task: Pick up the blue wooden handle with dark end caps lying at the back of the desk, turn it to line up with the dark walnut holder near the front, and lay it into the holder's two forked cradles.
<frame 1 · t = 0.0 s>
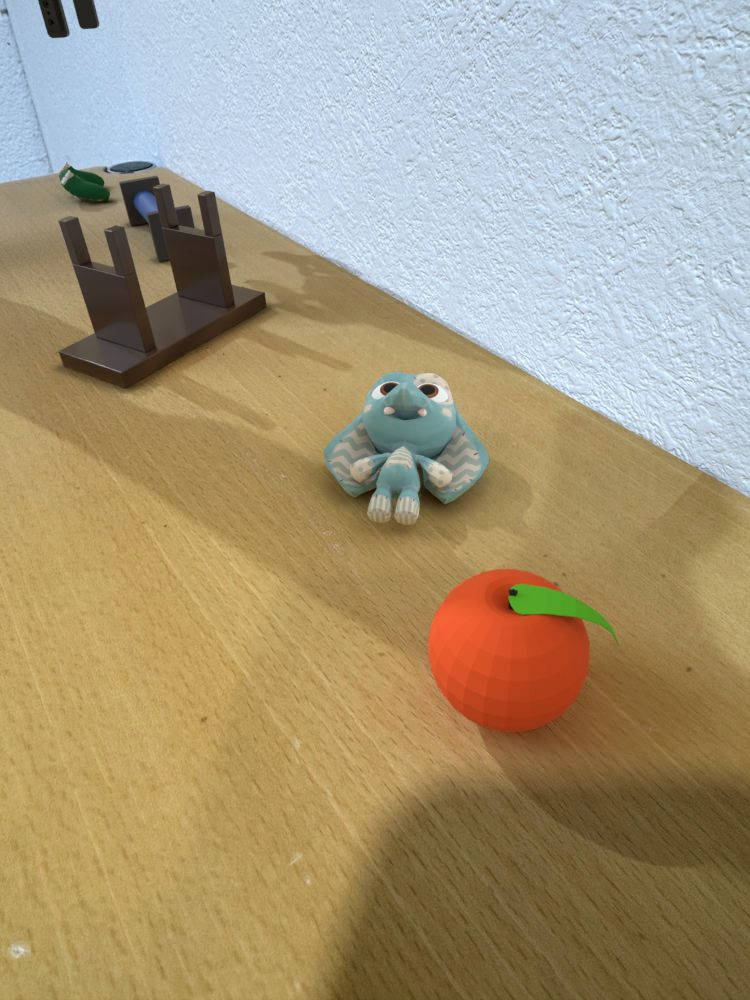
hand: (75, 32, 79), 21 cm above the table, tool pointing down, fingers open, 8 cm apart
holder: (171, 334, 64), on the table
handle: (163, 238, 86), on the table
stuffed animal: (405, 479, 46), on the table
green banana bunch: (88, 198, 101), on the table
clementine: (512, 699, 33), on the table
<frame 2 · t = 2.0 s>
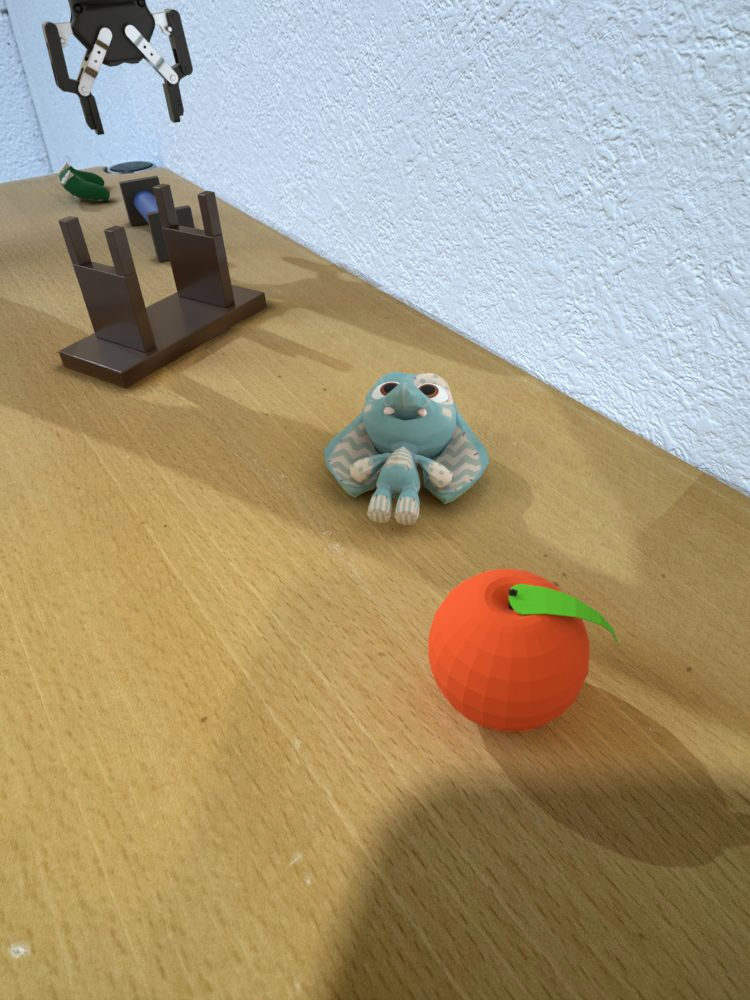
hand: (138, 127, 78), 12 cm above the table, tool pointing down, fingers open, 8 cm apart
nothing on the table moved.
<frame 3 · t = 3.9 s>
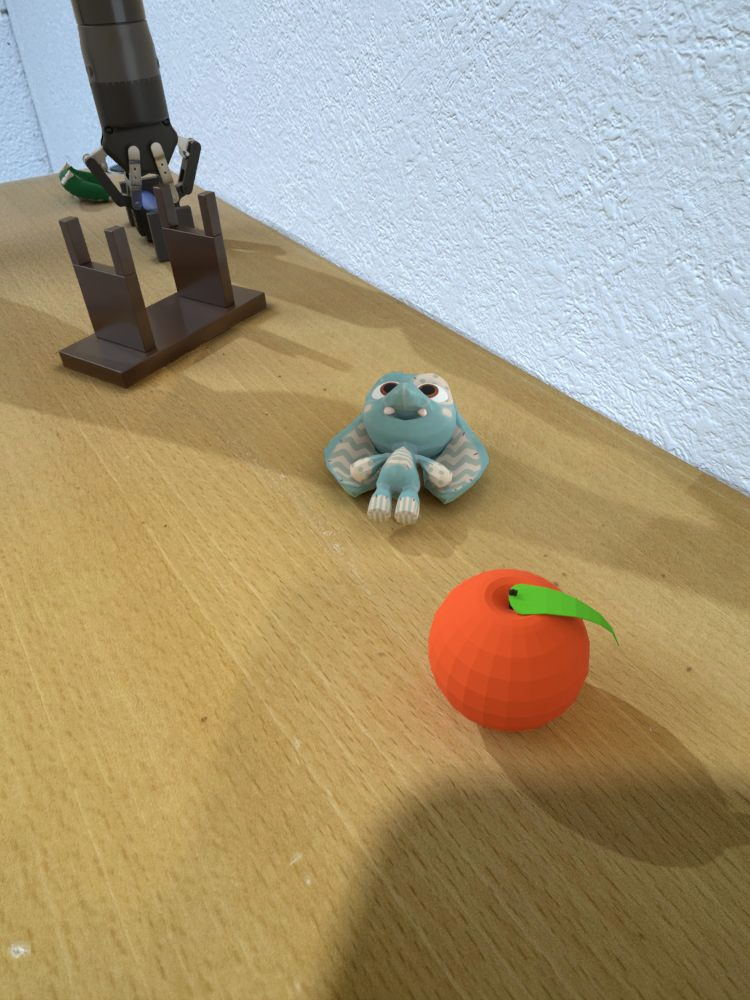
hand: (162, 235, 85), 0 cm above the table, tool pointing down, fingers closed on handle, 3 cm apart
handle: (163, 238, 86), on the table, touching gripper
everything else where it was.
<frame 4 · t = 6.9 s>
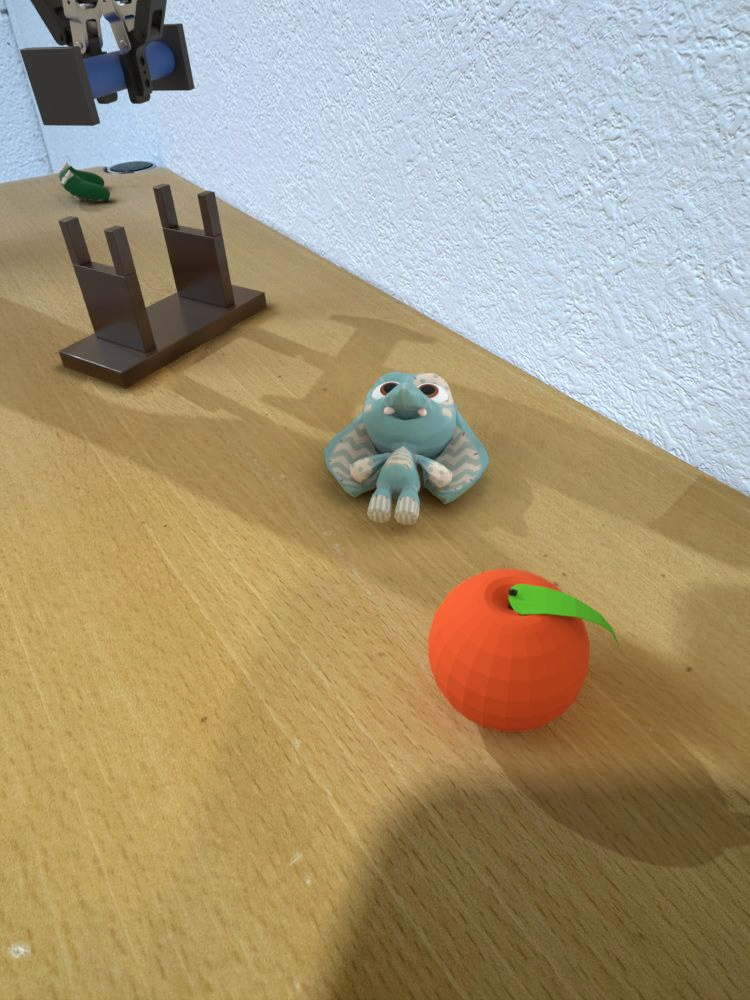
hand: (124, 101, 61), 17 cm above the table, tool pointing down, fingers closed on handle, 3 cm apart
handle: (125, 105, 61), point 17 cm above the table, touching gripper
everything else where it was.
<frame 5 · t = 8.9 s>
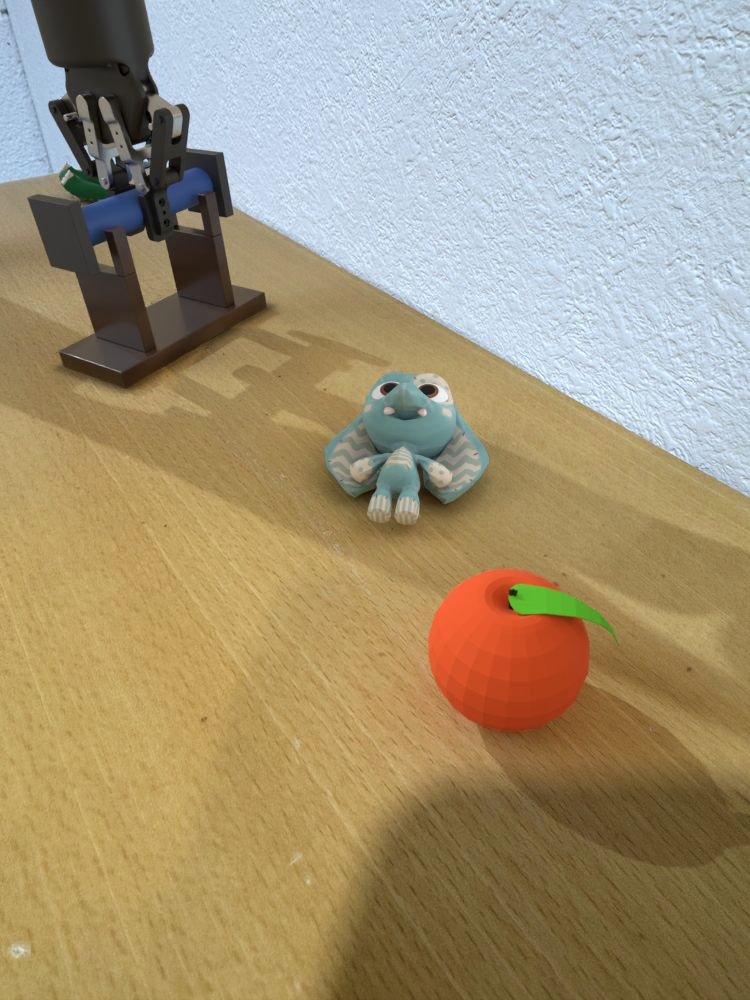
hand: (147, 235, 58), 9 cm above the table, tool pointing down, fingers closed on handle, 3 cm apart
handle: (148, 238, 59), point 9 cm above the table, touching gripper
everything else where it was.
when the fingers open (7 cm above the table, at t = 9.8 s): handle stays where it is, resting on holder.
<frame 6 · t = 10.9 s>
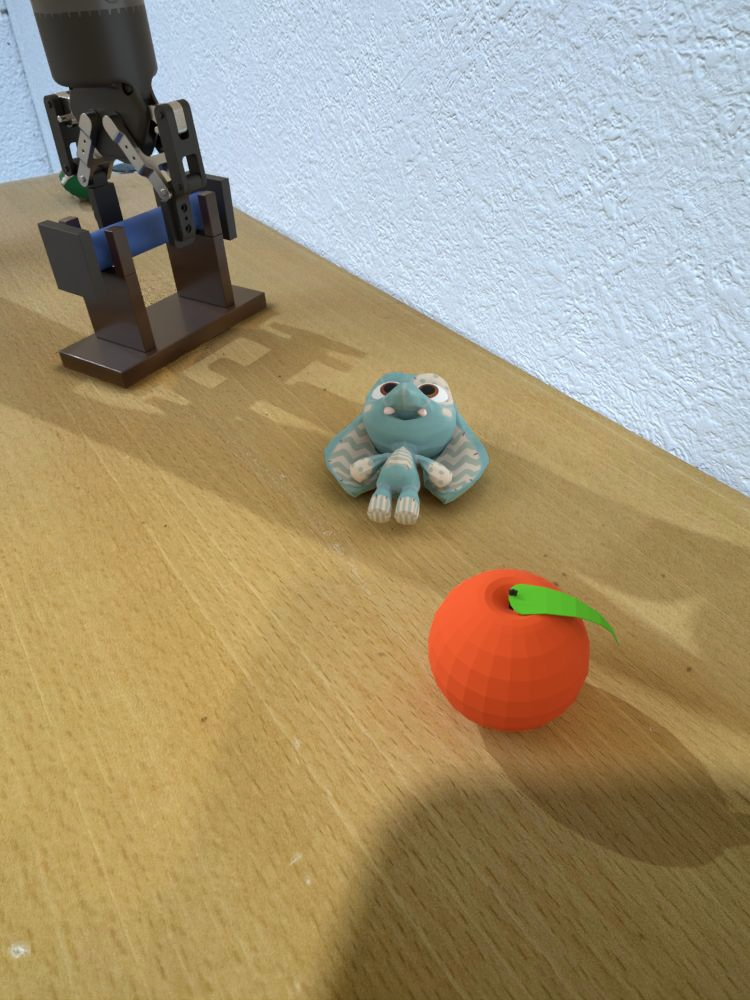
hand: (146, 237, 59), 9 cm above the table, tool pointing down, fingers open, 8 cm apart
handle: (153, 261, 60), point 7 cm above the table, touching holder
everything else where it was.
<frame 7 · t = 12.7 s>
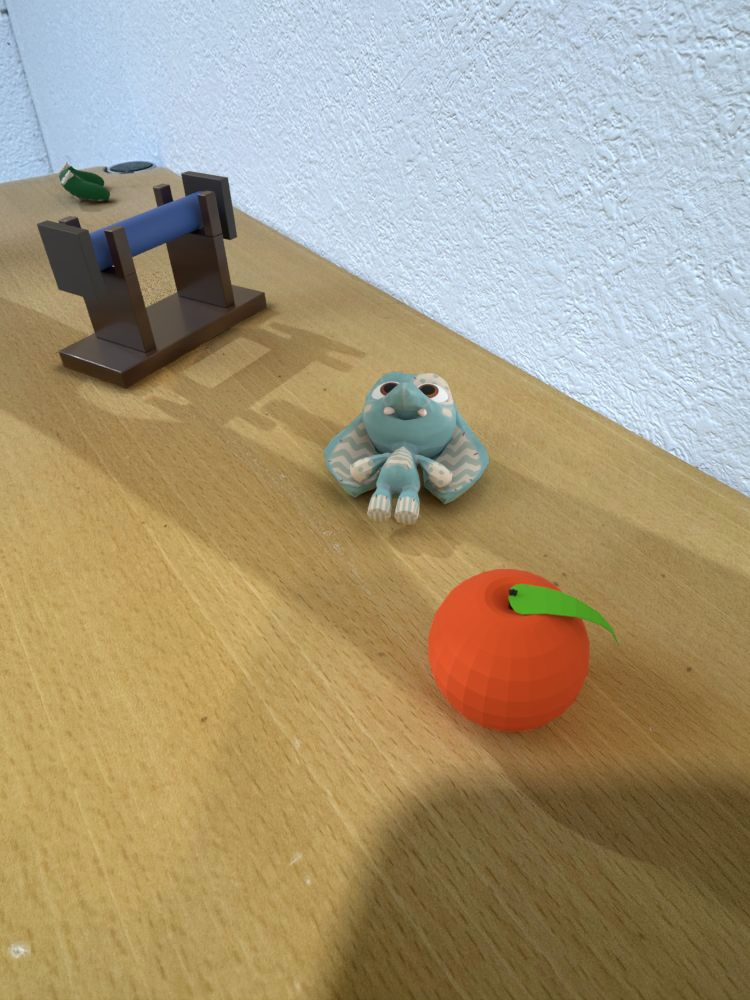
nothing on the table moved.
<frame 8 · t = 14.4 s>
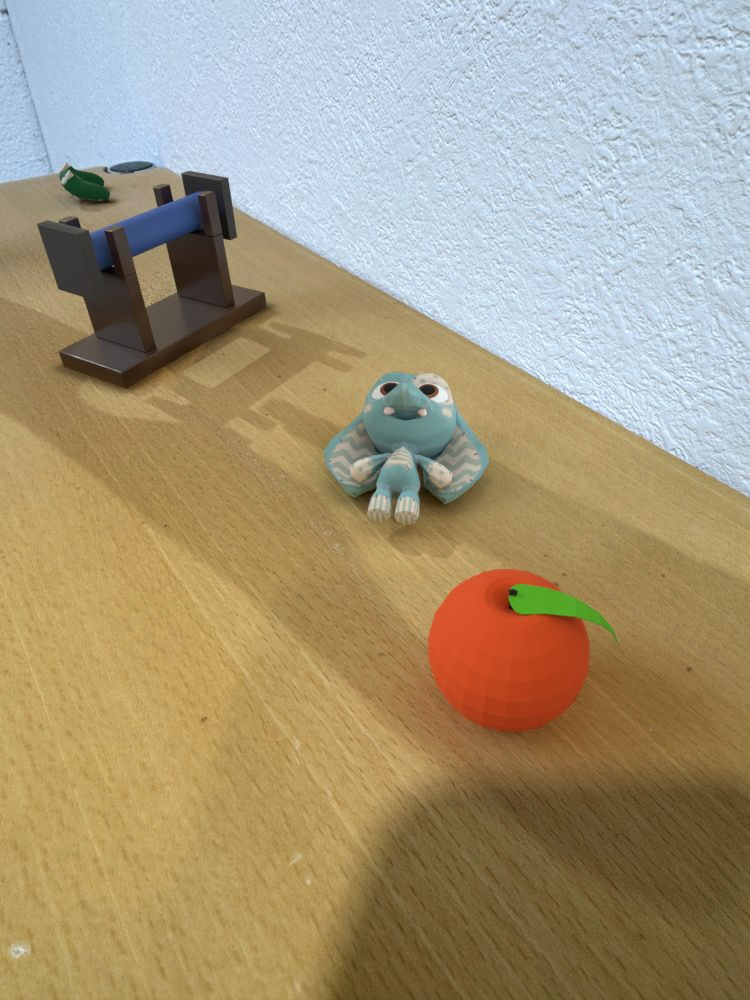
nothing on the table moved.
at the end: handle 0.1 cm off-centre on the holder, point 6.8 cm above the holder's base; handle tilted 1°; the gripper is holding nothing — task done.
